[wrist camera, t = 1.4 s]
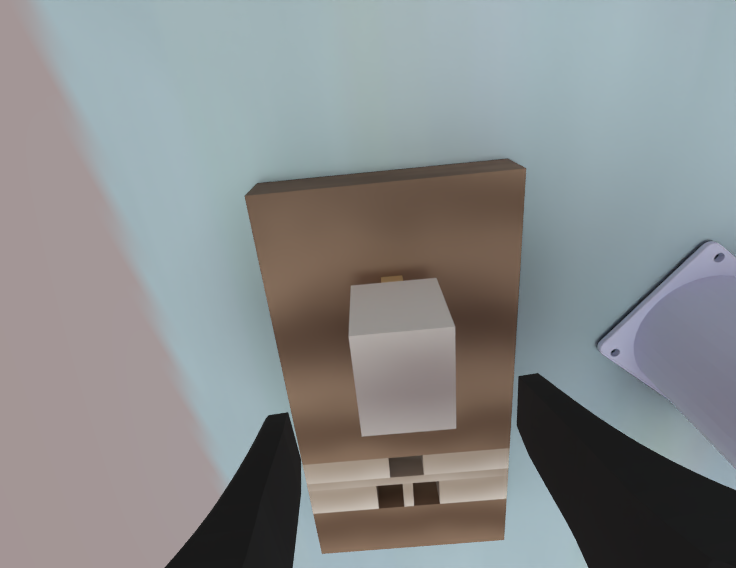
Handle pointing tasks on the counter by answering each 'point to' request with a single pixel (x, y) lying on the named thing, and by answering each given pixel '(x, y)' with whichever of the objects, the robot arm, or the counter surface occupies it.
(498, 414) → the socket board
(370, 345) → the plug
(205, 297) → the counter surface
